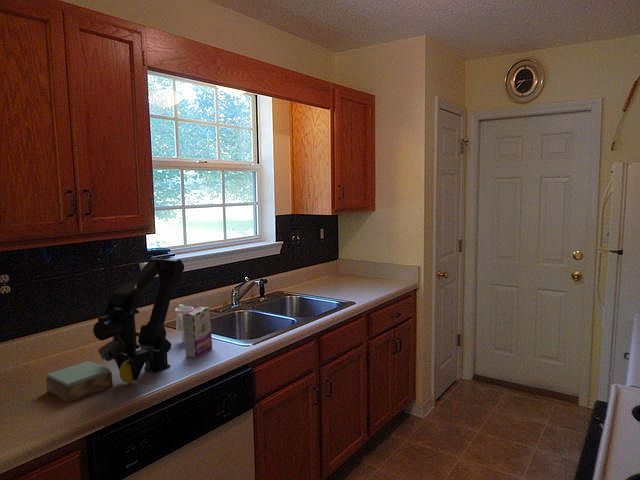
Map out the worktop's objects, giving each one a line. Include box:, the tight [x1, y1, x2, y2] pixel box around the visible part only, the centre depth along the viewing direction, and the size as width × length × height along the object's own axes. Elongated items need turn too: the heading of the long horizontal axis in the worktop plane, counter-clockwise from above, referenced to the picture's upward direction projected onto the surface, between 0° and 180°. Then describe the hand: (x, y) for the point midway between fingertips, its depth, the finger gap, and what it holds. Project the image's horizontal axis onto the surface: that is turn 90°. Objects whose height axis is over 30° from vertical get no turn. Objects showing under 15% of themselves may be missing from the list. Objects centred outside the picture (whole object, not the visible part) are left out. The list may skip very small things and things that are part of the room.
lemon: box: [119, 360, 135, 385], centre depth 150 cm, size 6×6×8 cm
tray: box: [45, 371, 114, 404], centre depth 147 cm, size 14×13×4 cm
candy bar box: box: [183, 306, 213, 359], centre depth 177 cm, size 11×5×16 cm, turn 161°
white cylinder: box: [175, 303, 195, 344], centre depth 189 cm, size 7×7×15 cm
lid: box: [46, 360, 111, 387], centre depth 147 cm, size 13×13×1 cm
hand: (129, 377), depth 150 cm, fingers open, 7 cm apart
